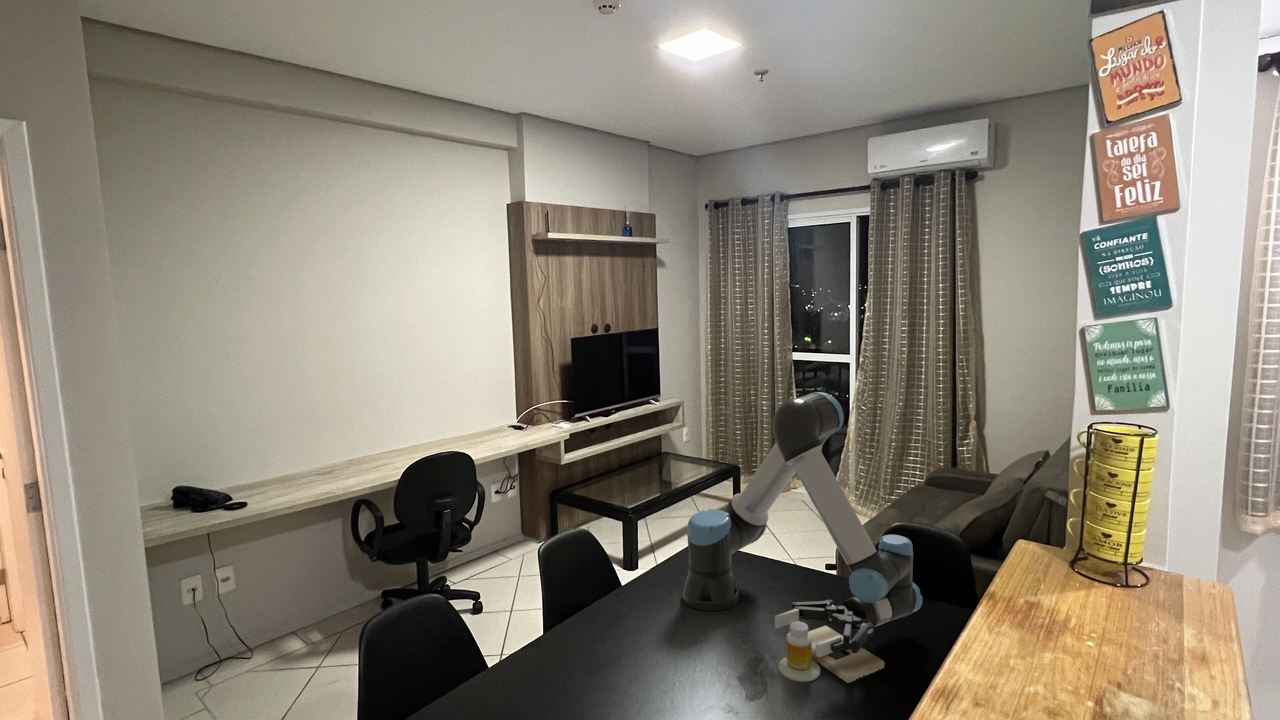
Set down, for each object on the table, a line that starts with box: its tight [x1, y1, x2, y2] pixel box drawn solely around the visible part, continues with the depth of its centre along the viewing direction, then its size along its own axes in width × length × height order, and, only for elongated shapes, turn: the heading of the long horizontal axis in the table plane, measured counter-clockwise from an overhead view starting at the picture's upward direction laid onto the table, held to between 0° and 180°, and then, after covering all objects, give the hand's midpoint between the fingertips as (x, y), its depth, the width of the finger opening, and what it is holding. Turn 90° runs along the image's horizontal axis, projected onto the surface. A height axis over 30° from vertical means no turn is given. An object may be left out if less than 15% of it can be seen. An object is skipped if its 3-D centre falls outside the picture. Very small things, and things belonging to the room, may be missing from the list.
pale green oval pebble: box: [778, 656, 821, 683], centre depth 143 cm, size 9×9×1 cm
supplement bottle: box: [786, 620, 813, 673], centre depth 142 cm, size 5×5×10 cm
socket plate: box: [808, 625, 885, 684], centre depth 148 cm, size 18×11×2 cm, turn 28°
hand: (795, 635), depth 141 cm, fingers open, 13 cm apart
